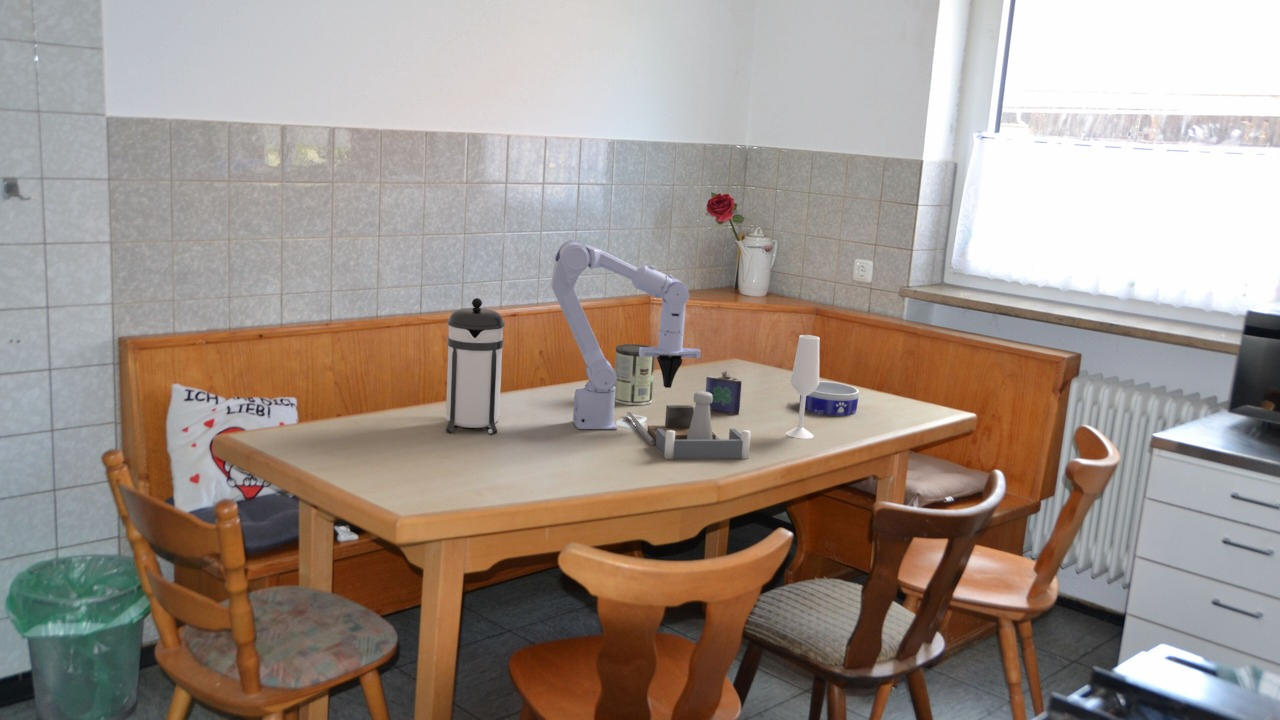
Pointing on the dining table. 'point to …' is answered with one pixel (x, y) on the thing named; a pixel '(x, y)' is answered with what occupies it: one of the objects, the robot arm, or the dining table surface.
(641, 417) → the dining table surface
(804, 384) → the champagne flute
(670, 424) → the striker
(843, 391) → the dog bowl
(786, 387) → the dining table surface
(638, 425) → the rails
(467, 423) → the coffee press
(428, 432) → the dining table surface
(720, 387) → the flask
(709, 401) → the salt shaker
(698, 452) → the frame
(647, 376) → the coffee can
